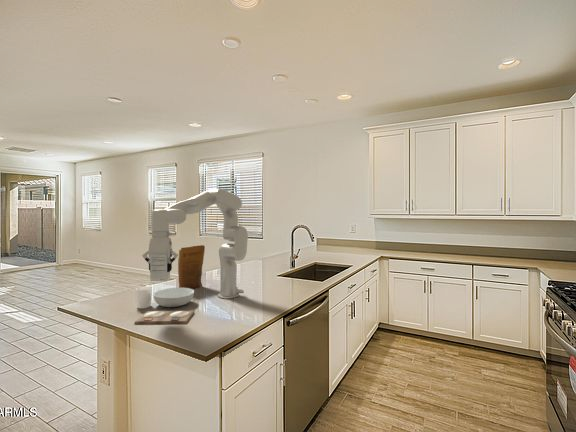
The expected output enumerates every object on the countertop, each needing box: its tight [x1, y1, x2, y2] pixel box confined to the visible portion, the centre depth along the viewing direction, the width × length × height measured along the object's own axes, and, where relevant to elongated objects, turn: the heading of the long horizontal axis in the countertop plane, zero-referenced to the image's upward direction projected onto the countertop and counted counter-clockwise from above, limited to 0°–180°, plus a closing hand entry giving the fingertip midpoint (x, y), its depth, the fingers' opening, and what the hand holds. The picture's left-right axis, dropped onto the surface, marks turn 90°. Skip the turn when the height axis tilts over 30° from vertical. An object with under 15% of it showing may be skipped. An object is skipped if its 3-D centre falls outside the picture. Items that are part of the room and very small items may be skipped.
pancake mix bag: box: [177, 244, 206, 290], centre depth 198 cm, size 7×19×28 cm, turn 133°
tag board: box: [134, 310, 195, 325], centre depth 144 cm, size 23×14×2 cm, turn 93°
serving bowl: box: [152, 287, 195, 308], centre depth 165 cm, size 21×21×7 cm
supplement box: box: [149, 254, 171, 282], centre depth 145 cm, size 7×7×13 cm
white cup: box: [135, 285, 153, 309], centre depth 161 cm, size 8×8×10 cm
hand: (160, 271), depth 145 cm, fingers closed on supplement box, 7 cm apart
